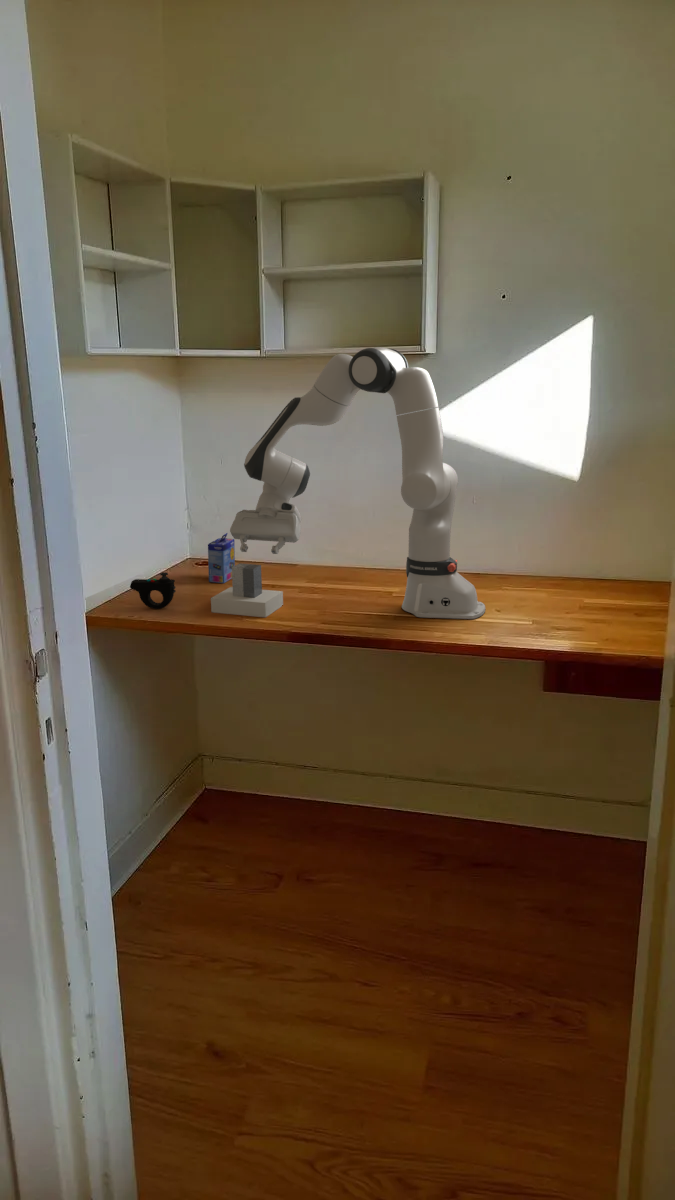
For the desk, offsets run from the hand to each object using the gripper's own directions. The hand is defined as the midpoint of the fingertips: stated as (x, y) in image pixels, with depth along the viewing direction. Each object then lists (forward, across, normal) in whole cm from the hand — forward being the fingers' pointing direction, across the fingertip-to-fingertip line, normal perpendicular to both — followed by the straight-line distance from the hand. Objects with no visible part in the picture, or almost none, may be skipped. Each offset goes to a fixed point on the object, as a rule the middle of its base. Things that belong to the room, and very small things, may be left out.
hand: (258, 551), depth 235 cm
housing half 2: (+13, +2, +1) cm, 13 cm away
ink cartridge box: (-3, -21, +23) cm, 32 cm away
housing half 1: (+13, -2, +1) cm, 13 cm away
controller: (+21, -25, -1) cm, 33 cm away
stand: (+16, 0, +4) cm, 16 cm away
